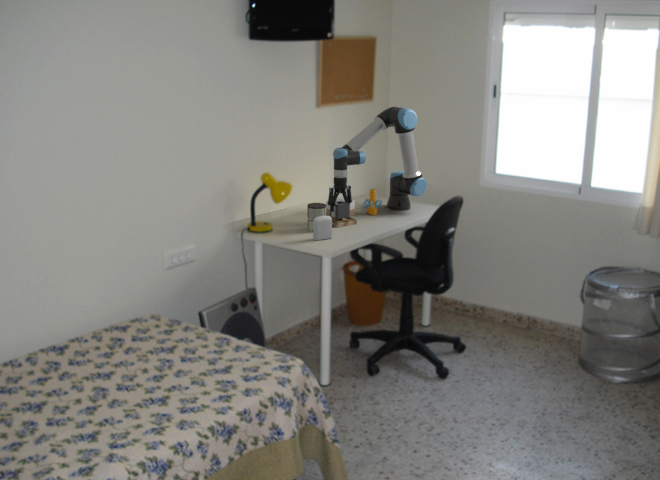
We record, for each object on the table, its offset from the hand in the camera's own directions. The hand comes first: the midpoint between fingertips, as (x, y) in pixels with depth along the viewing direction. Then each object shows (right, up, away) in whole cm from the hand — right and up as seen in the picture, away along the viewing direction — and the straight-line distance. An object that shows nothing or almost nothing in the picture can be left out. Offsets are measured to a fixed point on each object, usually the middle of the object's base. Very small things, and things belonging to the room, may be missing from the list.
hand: (339, 216), depth 384 cm
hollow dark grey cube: (0, 0, 0) cm, 0 cm away
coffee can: (-13, -8, -13) cm, 20 cm away
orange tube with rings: (+20, +2, +24) cm, 31 cm away
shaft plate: (0, -4, +1) cm, 4 cm away
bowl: (+1, +2, +24) cm, 24 cm away
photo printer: (-9, -13, -31) cm, 35 cm away
